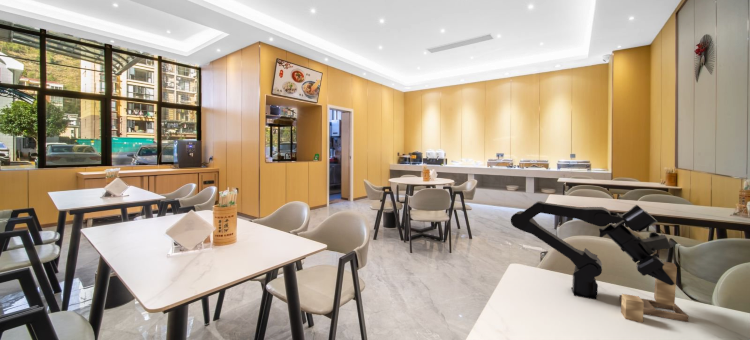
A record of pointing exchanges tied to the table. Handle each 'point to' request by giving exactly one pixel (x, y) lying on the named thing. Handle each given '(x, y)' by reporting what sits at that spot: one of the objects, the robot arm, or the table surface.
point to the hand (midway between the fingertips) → (671, 282)
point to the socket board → (651, 310)
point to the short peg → (632, 307)
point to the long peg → (666, 286)
